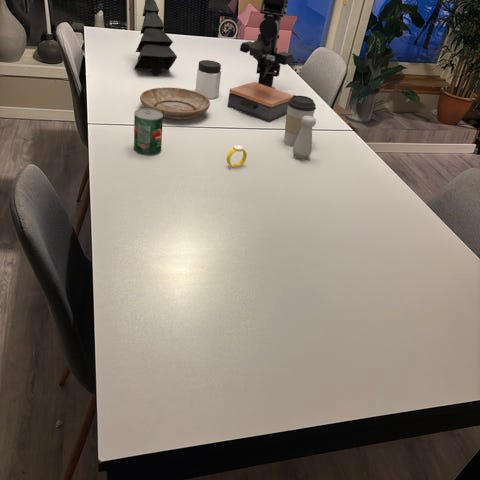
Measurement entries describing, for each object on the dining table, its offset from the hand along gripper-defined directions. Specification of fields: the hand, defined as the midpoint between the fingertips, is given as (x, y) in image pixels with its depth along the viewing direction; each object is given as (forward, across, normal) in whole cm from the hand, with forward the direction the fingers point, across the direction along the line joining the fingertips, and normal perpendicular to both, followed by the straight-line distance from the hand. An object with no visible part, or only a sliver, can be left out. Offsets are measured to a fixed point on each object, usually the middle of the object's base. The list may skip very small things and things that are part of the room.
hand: (262, 77), depth 178 cm
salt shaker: (+12, +31, -23) cm, 41 cm away
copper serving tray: (+7, 0, +1) cm, 7 cm away
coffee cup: (+12, +24, -15) cm, 31 cm away
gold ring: (+12, +21, -44) cm, 50 cm away
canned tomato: (+12, -2, -56) cm, 57 cm away
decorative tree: (+12, -54, +1) cm, 55 cm away
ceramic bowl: (+12, -17, -27) cm, 34 cm away
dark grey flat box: (+12, 0, +1) cm, 12 cm away
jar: (+12, -21, -4) cm, 24 cm away
